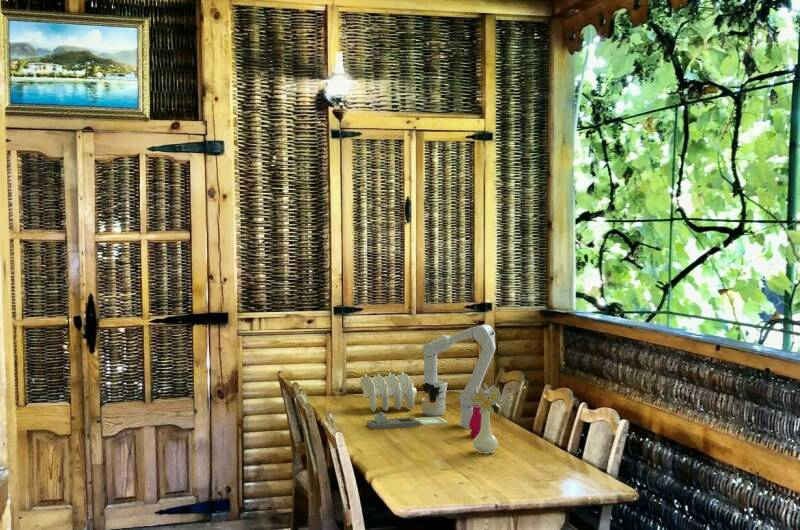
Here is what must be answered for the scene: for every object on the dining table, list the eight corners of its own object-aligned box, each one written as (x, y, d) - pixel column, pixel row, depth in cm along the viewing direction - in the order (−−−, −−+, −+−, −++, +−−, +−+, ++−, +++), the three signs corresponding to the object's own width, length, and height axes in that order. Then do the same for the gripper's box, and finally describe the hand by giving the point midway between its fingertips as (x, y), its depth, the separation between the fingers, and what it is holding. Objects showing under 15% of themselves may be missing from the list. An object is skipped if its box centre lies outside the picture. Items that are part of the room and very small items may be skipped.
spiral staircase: (417, 418, 399) (366, 420, 390) (405, 397, 414) (356, 397, 405) (425, 386, 391) (373, 386, 383) (413, 365, 406) (363, 365, 398)
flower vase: (474, 459, 308) (474, 390, 308) (465, 447, 327) (465, 382, 326) (509, 458, 310) (509, 389, 309) (498, 446, 328) (498, 381, 327)
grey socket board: (419, 427, 362) (419, 421, 362) (373, 430, 355) (373, 425, 355) (411, 422, 371) (411, 417, 371) (367, 426, 365) (366, 420, 365)
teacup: (436, 419, 379) (436, 401, 379) (416, 416, 385) (416, 398, 385) (453, 414, 390) (453, 396, 390) (434, 411, 397) (434, 394, 396)
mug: (423, 404, 415) (423, 383, 414) (431, 398, 429) (431, 378, 429) (444, 405, 412) (444, 384, 411) (451, 399, 426) (451, 379, 426)
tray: (448, 424, 367) (448, 421, 367) (422, 426, 364) (422, 423, 364) (438, 419, 378) (438, 416, 378) (413, 421, 375) (413, 418, 375)
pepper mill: (486, 438, 341) (486, 388, 341) (468, 437, 343) (468, 388, 342) (487, 434, 348) (487, 385, 348) (470, 433, 350) (470, 385, 349)
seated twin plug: (386, 427, 360) (386, 413, 360) (377, 428, 359) (377, 413, 359) (383, 425, 364) (383, 411, 364) (374, 426, 363) (374, 412, 363)
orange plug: (436, 405, 369) (436, 391, 369) (427, 406, 368) (427, 392, 368) (433, 403, 373) (433, 390, 373) (424, 404, 372) (424, 390, 372)
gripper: (416, 368, 376) (416, 399, 376) (428, 373, 362) (428, 404, 363) (431, 367, 378) (431, 398, 379) (443, 372, 364) (443, 403, 365)
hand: (430, 401), depth 371 cm, fingers closed on orange plug, 4 cm apart
